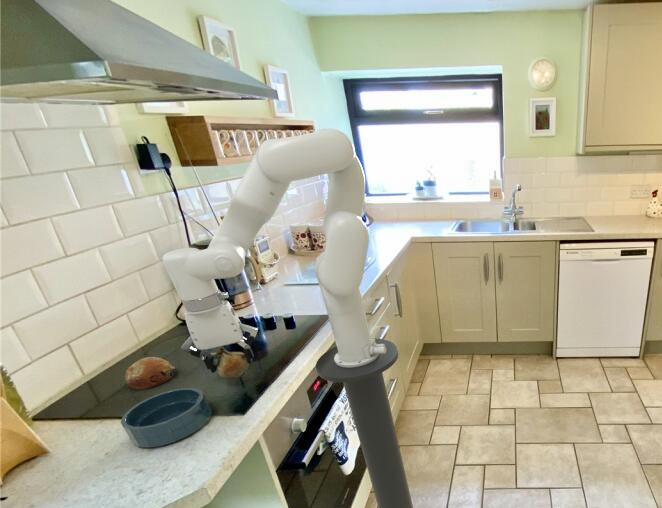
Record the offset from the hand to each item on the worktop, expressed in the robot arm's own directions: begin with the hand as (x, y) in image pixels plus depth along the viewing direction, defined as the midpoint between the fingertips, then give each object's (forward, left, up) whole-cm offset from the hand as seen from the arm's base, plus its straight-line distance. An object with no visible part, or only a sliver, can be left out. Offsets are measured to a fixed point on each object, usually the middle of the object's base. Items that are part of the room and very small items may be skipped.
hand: (232, 365), depth 106 cm
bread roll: (+26, -2, -6) cm, 26 cm away
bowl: (+4, +17, -5) cm, 19 cm away
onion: (0, 0, -3) cm, 3 cm away
